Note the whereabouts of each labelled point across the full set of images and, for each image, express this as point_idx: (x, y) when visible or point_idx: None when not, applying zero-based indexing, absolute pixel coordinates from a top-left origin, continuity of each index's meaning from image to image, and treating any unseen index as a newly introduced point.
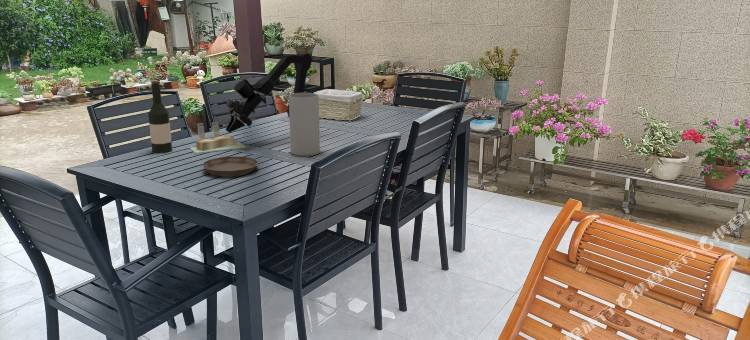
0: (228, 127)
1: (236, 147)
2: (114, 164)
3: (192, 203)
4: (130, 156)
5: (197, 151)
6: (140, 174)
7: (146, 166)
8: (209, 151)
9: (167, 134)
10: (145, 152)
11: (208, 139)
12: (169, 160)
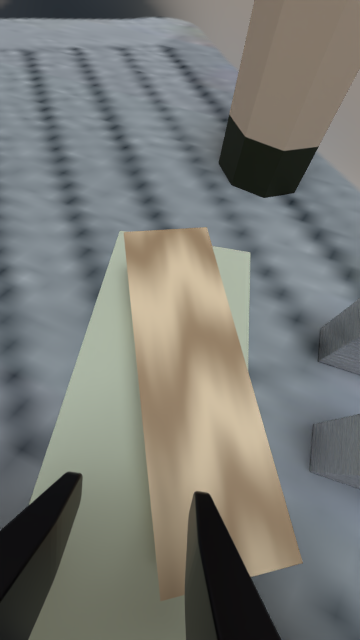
0: (192, 565)
1: None
2: (166, 58)
3: None
4: None
5: None
6: (2, 56)
7: (76, 85)
8: (97, 298)
9: (254, 71)
10: None
11: (204, 305)
12: (94, 140)
